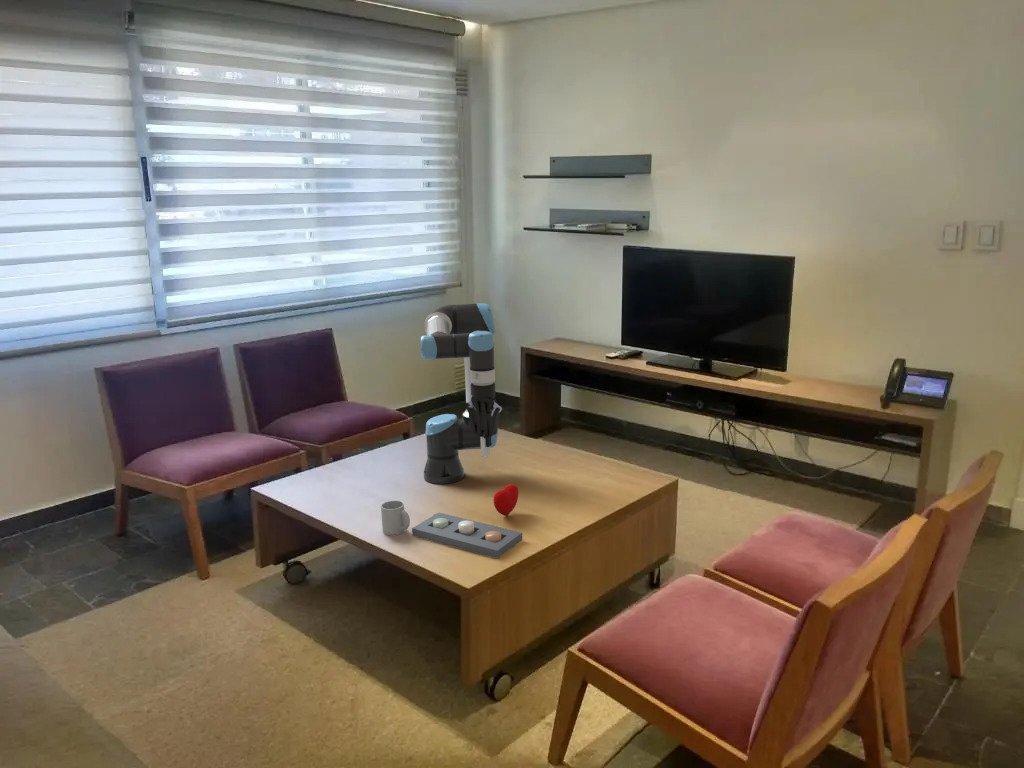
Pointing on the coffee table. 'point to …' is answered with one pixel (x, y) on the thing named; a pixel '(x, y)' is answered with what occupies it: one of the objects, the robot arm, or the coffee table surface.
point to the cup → (394, 518)
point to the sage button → (440, 523)
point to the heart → (506, 499)
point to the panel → (470, 543)
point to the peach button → (493, 536)
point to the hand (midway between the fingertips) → (485, 455)
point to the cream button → (466, 527)
